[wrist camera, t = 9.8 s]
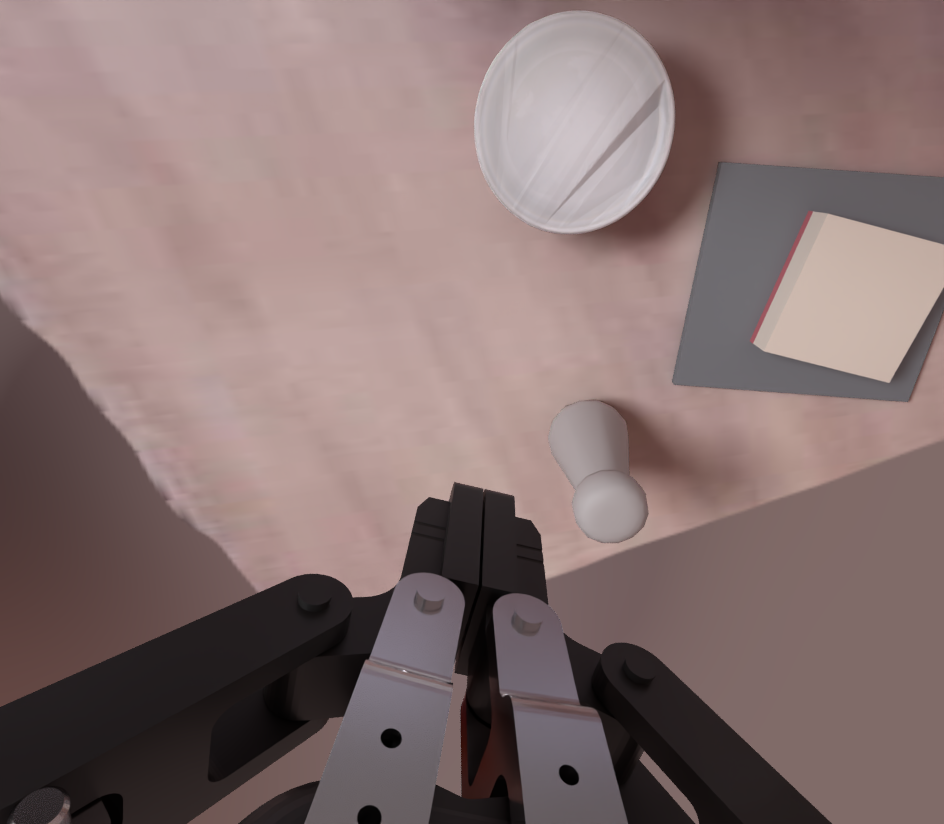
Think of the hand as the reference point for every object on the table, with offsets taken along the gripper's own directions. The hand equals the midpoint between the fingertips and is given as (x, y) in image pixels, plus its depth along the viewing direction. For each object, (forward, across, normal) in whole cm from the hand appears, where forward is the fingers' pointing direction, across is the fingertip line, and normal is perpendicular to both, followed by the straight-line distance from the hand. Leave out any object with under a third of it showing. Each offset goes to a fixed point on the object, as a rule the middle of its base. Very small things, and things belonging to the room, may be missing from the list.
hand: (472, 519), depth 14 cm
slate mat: (+29, -22, -5) cm, 37 cm away
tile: (+27, -19, -5) cm, 33 cm away
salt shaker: (+29, -10, +8) cm, 32 cm away
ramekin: (+29, -2, -10) cm, 31 cm away
